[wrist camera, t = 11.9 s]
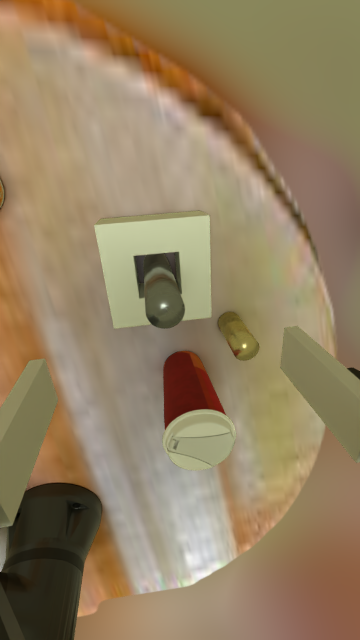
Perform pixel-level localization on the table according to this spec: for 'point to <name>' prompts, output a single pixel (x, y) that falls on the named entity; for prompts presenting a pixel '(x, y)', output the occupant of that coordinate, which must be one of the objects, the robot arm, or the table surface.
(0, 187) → the pill bottle
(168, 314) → the long pin
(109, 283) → the hole block
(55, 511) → the robot arm
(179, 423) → the paper cup
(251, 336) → the short pin
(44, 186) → the table surface
